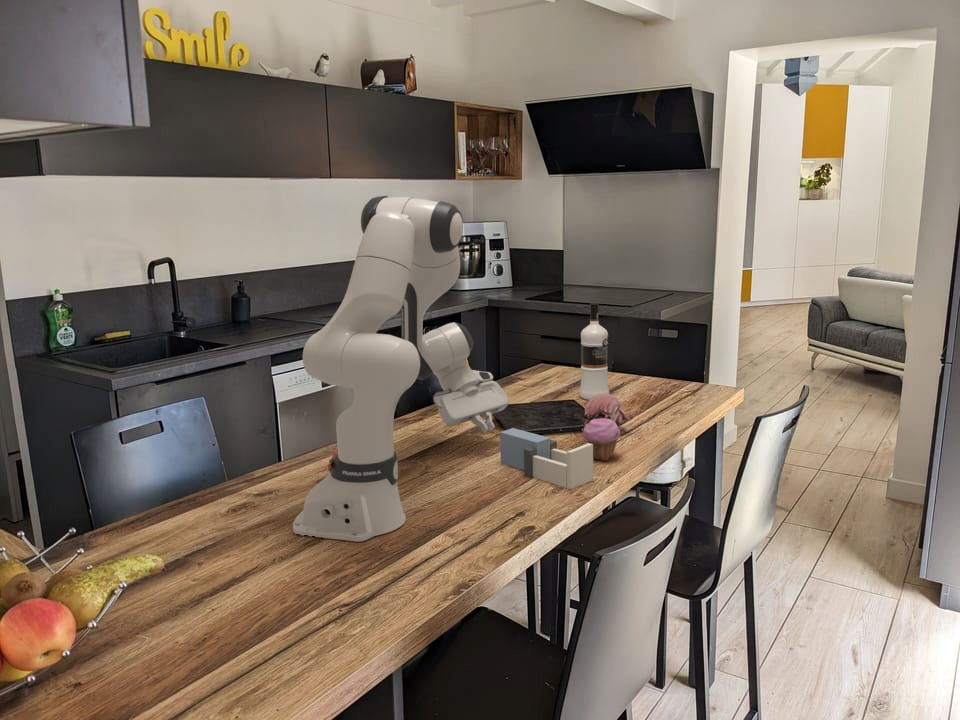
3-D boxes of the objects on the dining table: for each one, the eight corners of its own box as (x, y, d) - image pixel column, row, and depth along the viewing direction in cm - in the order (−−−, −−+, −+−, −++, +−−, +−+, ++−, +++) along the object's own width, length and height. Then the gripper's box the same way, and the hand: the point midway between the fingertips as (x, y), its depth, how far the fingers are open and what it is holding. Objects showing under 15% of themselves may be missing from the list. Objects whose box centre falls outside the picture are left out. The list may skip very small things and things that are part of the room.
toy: (628, 438, 201) (638, 419, 215) (615, 400, 200) (626, 383, 213) (585, 448, 206) (597, 428, 220) (572, 410, 205) (585, 393, 218)
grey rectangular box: (500, 463, 190) (500, 432, 188) (513, 458, 193) (513, 428, 191) (537, 474, 181) (537, 442, 180) (550, 469, 184) (550, 437, 183)
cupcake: (577, 459, 191) (576, 420, 189) (594, 449, 198) (594, 411, 196) (609, 466, 186) (610, 426, 184) (626, 456, 193) (626, 416, 191)
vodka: (591, 392, 254) (591, 300, 247) (615, 396, 247) (615, 302, 241) (573, 397, 247) (573, 303, 241) (597, 402, 241) (597, 306, 235)
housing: (524, 475, 181) (523, 440, 180) (550, 465, 188) (550, 431, 186) (568, 490, 172) (568, 453, 170) (595, 479, 178) (595, 443, 176)
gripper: (435, 387, 190) (464, 433, 185) (495, 371, 204) (523, 414, 199) (424, 401, 194) (452, 447, 190) (483, 385, 208) (511, 427, 203)
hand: (489, 430), depth 194 cm, fingers closed
